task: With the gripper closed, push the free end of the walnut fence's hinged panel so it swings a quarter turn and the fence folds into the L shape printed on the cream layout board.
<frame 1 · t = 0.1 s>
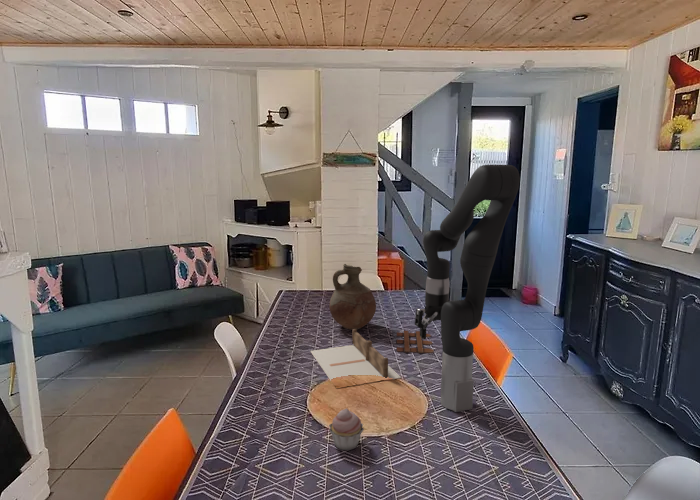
hand: (434, 336, 150), 17 cm above the table, tool pointing down, fingers open, 8 cm apart
cupcake: (346, 444, 120), on the table
decorative fence: (414, 344, 191), on the table
jug: (352, 327, 210), on the table
layout card: (352, 363, 170), on the table
fence fixed: (368, 360, 173), resting on layout card
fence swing: (360, 342, 181), point 4 cm above the table, hinge at 0.0°
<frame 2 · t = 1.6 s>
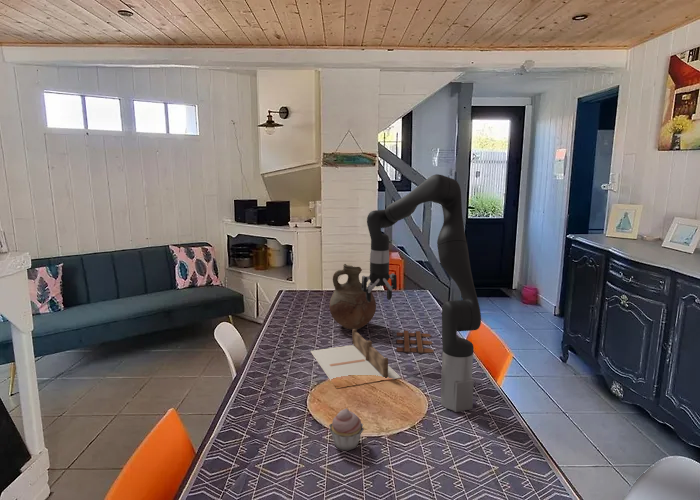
hand: (378, 300, 179), 21 cm above the table, tool pointing down, fingers open, 8 cm apart
nothing on the table moved.
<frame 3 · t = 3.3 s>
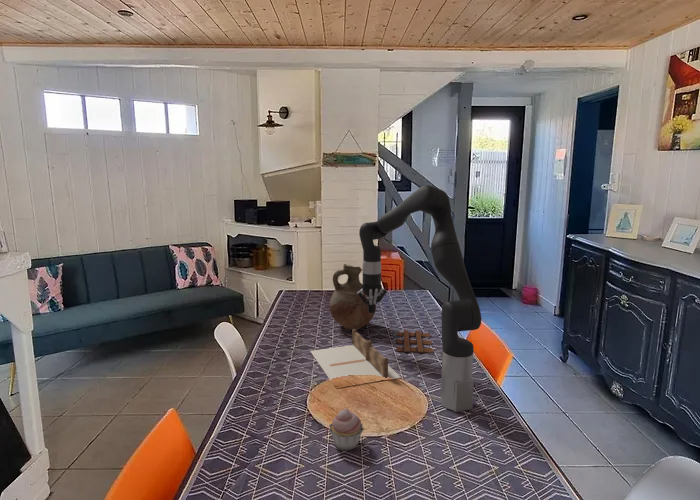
hand: (371, 312, 184), 15 cm above the table, tool pointing down, fingers closed
nothing on the table moved.
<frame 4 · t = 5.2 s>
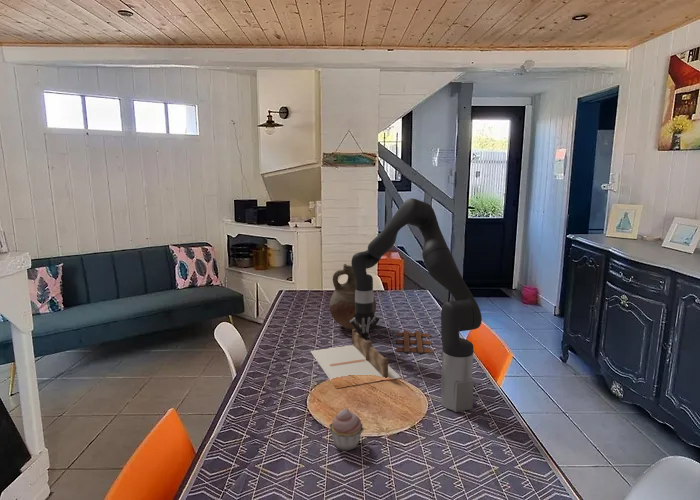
hand: (364, 340, 185), 3 cm above the table, tool pointing down, fingers closed
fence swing: (360, 342, 181), point 4 cm above the table, hinge at 0.2°, touching gripper
everything else where it was.
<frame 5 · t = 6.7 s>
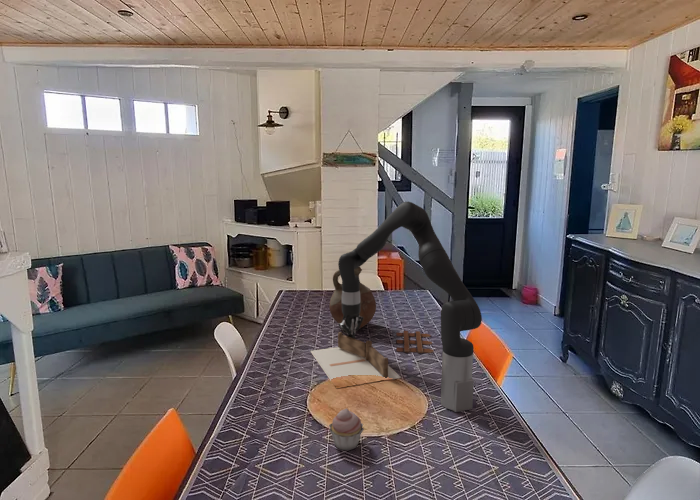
hand: (351, 341, 183), 3 cm above the table, tool pointing down, fingers closed
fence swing: (351, 344, 179), point 4 cm above the table, hinge at 26.0°, touching gripper
everything else where it was.
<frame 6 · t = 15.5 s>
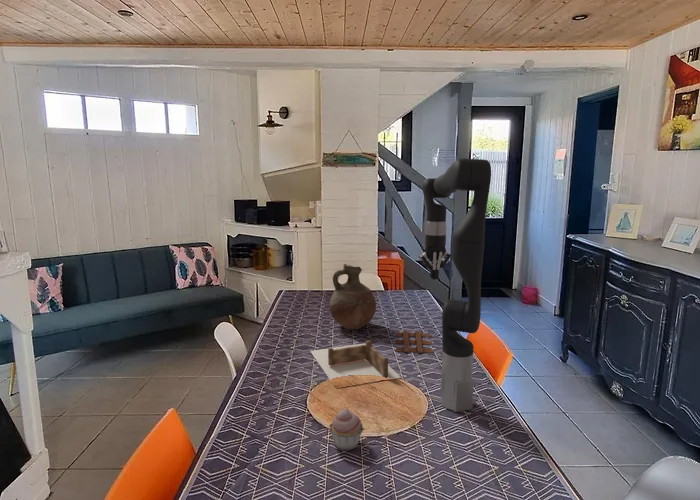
hand: (434, 279, 168), 32 cm above the table, tool pointing down, fingers closed
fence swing: (347, 354, 169), point 4 cm above the table, hinge at 93.3°
everything else where it was.
at the end: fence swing at +93° (first picture: +0°) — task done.
